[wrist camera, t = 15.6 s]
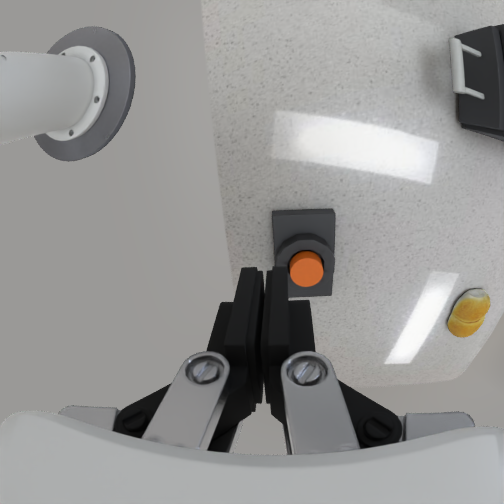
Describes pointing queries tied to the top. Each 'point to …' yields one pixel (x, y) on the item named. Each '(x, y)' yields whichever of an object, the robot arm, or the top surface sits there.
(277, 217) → the control block
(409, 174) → the top surface
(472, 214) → the top surface
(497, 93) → the drawer
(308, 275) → the button
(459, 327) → the bread roll
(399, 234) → the top surface
